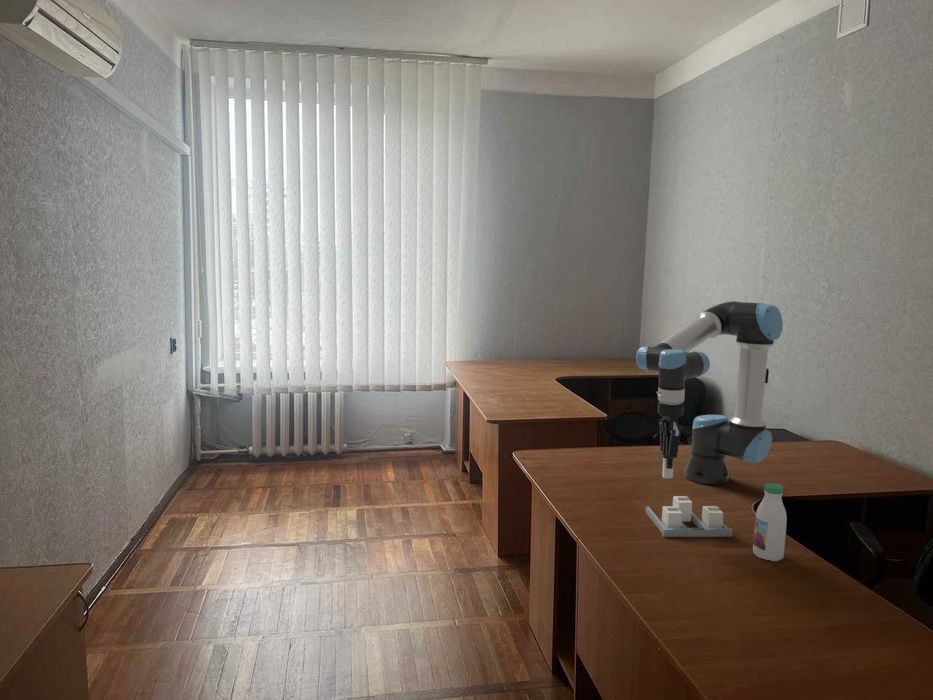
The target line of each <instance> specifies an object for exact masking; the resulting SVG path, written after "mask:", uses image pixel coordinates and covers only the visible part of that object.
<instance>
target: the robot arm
mask: <svg viewBox="0 0 933 700" xmlns="http://www.w3.org/2000/svg"><path fill="white" fill-rule="evenodd" d="M783 326H784V325H783V316H782V314H781V312H780V309H779V308H778V307H777V306H775V305H773V304H768V303H764V302H763V303H762V302H747V301H746V302H742V301H726V302H722V303H719V304H715V305H714V306H711V307H710V308H707V309H705V310H704V311H702V312H701V313H699V314H698V315H697V317H696V318H695V320H694V321H692V322H690V323H689V324H687V325H685V326H684V327H683V328H680V329H679V330H678V331H676V332H675V333H673V334H671V335H670V336H669V337H667V338H666V339H663V340H662V341H660V342H659V343H658V344H655V345H654V346H650V345H648V346H641V347H639V348H638V350H637V352H636V354H635V355H636V356H635V361H636V362H635V363H636V365H637V367H638V368H639V369H642V370H646V371H648V372H649V371H650V372H656V373H658V387H657V388H658V389H657V390H658V391H656V394H657V400H658V402H657V405H656V406H657V411H656V412H657V414H658V415H659V416H661V418H659V419H658V425H659V442H660V452H662V453H661V454H662V474H661V476H662V478H663V479H673V478H674V459H677V458H678V452H679V446H680V439H681V435H682V430H681V429H679V420H678V419H679V418H680V417H683V416H684V413H685V411H684V410H685V408H684V407H685V404H684V402H685V392H686V387H685V383H686V380H688V379H692V378H693V379H694V378H698V377H701V376H702V375H705V374H707V372H709V369H710V367H711V361H710V359H709V356H707V355H708V354H706V353H705V352H702V351H692V350H693V349H694V348H696V347H698V346H699V345H701V344H702V343H703V342H705V341H707V340H708V339H712V338H713V339H714V338H716V337H718V336H721V335H722V336H723V335H731V336H736V343H737V345H738V346H739V347H740V348H739V349H740V350H739V351H740V352H739V360H738V361H739V362H738V374H737V386H736V396H735V397H736V398H735V408H734V415H733V416H732V417H731V418H728V416H726V415H722V414H705V415H704V414H703V415H698V416H695V418H694V419H693V423H692V428H691V429H692V430H691V431H692V432H691V433H692V435H691V450H690V457H689V459H688V461H687V464H686V466H685V468H684V477H685V478H686V479H687V480H690V481H692V482H694V483H699V484H705V485H714V486H715V485H716V486H717V485H724V484H727V483H728V482H729V476H730V475H729V474H730V473H729V470H728V467H727V462H726V456H727V457H731V458H735V459H738V460H741V461H742V460H743V461H744V462H750V463H751V462H752V463H759V462H761V461H762V460H764V459H765V458H766V456H767V455H768V454H769V452H770V450H771V446H772V442H773V435H772V432H771V431H769V429H768V430H767V429H766V428H767V423H766V422H765V420H764V419H763V418H762V417H763V409H764V408H763V406H764V398H765V396H764V395H765V385H766V377H767V375H766V374H767V373H766V372H767V364H768V361H767V360H768V355H769V354H768V353H769V349H770V348H771V347H773V345H774V342H775V341H776V340H778V339H779V338H780V337H781V335H782V334H781V333H782V332H783Z"/></svg>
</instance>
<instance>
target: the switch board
mask: <svg viewBox="0 0 933 700" xmlns="http://www.w3.org/2000/svg"><path fill="white" fill-rule="evenodd" d="M645 513H646V514H647V516H648V518H650V520H651V521H652V523H653V524H654V525H655V526H656V527H657V529H658V530H659V531H660V533H661V536H662V538H672V537H673V538H678V537H679V538H686V537H687V538H690V537H691V538H692V537H693V538H697V537H698V538H700V537H703V538H705V537H706V538H707V537H710V538H711V537H713V538H715V537H719V538H720V537H725V538H726V537H733V534H734V533H733V530H734V529H733V528H732V527H731V528H730V527H728V526H727V525H726V524H725V523H724V522H723V523H722V528H707V527H706V526H705V525H704V524H703V523H702V520H701V519H700V518H698V516H697V515H696V514H695V513H694V512H693V511H692V513H691V521H690V522H692V523H693V524H694V525H695V526H696V527H690V528H689V527H687V525H685V524H684V523H683V522H682V523H681V528H670V529H667V528H666V527H665V526H664V525H663V523H662V520H661V519H660V518H659V517H658V516H657V515H656V513H655V512H654V511H653V510H652V508H651V507H650V506H645Z"/></svg>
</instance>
